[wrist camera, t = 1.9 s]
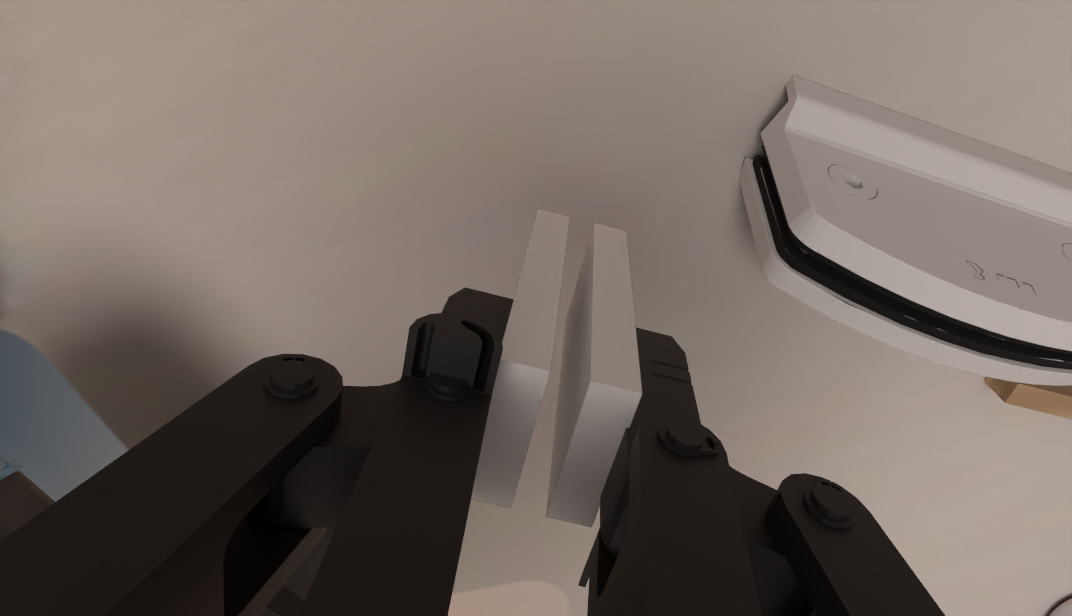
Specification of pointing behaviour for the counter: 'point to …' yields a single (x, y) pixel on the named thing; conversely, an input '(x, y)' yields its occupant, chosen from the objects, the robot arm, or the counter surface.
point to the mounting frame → (1035, 396)
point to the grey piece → (916, 235)
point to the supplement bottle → (1063, 609)
